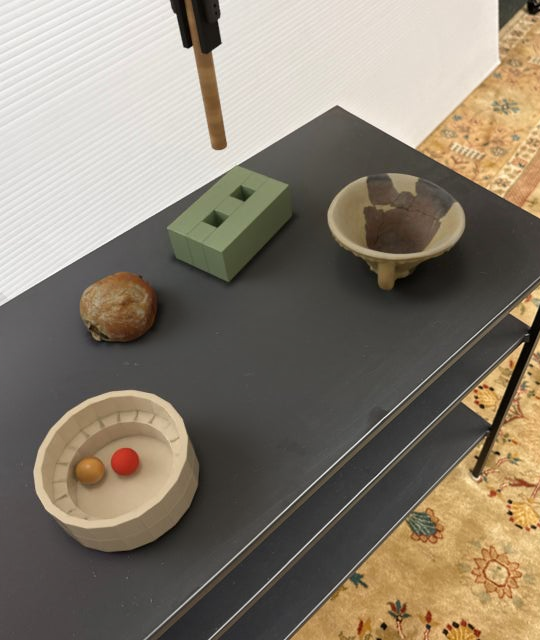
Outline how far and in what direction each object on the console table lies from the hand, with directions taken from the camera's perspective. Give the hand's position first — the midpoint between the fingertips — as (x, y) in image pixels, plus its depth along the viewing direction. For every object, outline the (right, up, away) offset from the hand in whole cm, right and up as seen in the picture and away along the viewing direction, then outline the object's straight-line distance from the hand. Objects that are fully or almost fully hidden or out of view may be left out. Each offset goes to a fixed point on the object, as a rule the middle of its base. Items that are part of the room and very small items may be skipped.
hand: (202, 45), depth 73 cm
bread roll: (-13, -30, +15) cm, 37 cm away
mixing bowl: (-8, -49, -1) cm, 50 cm away
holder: (+1, -18, +24) cm, 30 cm away
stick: (0, -9, +10) cm, 13 cm away
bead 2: (-8, -46, -2) cm, 47 cm away
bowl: (+24, -23, +19) cm, 38 cm away
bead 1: (-12, -47, -2) cm, 49 cm away
